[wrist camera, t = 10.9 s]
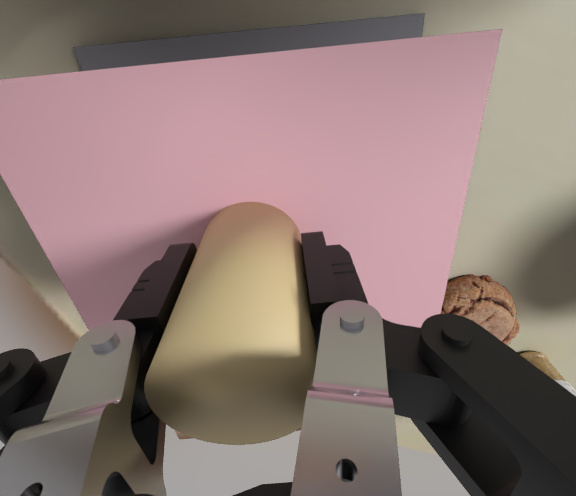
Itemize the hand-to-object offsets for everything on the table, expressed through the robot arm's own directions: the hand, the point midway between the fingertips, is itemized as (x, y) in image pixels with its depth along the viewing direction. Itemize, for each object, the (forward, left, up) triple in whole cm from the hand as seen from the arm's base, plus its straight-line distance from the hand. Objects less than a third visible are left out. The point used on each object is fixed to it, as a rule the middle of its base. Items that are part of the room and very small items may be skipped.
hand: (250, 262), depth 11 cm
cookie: (+16, +16, -13) cm, 26 cm away
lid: (0, 0, -3) cm, 3 cm away
